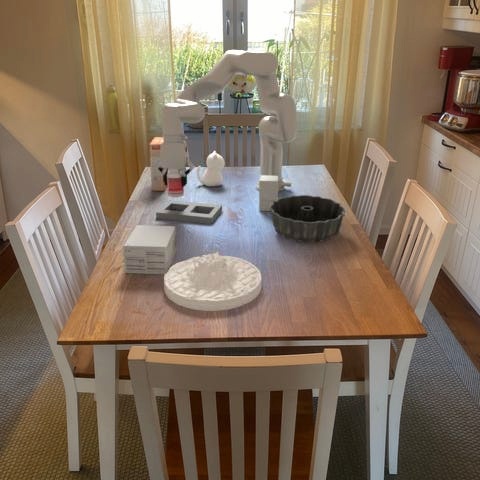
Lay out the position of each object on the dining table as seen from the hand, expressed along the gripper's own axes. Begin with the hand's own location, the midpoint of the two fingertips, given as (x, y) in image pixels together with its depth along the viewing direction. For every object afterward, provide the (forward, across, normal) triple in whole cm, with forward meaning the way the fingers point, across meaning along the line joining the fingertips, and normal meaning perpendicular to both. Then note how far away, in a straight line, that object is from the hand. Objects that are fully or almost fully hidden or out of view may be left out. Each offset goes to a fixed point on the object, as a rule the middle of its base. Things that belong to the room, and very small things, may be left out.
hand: (175, 184), depth 200 cm
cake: (+13, -30, +52) cm, 61 cm away
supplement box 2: (+12, -33, -15) cm, 39 cm away
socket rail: (+12, -5, 0) cm, 13 cm away
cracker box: (+12, +19, -30) cm, 37 cm away
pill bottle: (+4, 0, 0) cm, 4 cm away
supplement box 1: (+13, -7, +42) cm, 44 cm away
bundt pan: (+12, -51, +7) cm, 53 cm away
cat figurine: (+12, -2, -38) cm, 40 cm away
